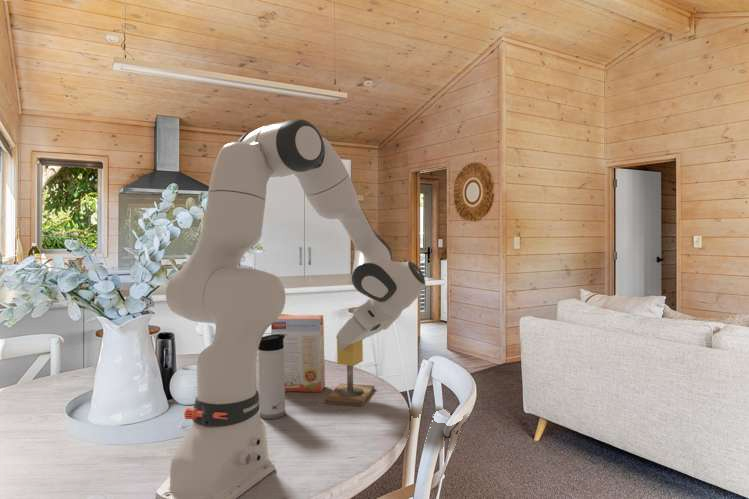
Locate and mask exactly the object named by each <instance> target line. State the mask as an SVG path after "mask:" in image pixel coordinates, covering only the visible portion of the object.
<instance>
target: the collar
mask: <svg viewBox="0 0 749 499" xmlns="http://www.w3.org/2000/svg"><path fill="white" fill-rule="evenodd" d="M339 345H340V342H339V341H338V340H337V339H336V353H337V355H336V356H337V362H336V364H337V365H343V366H345V365H346V366H347V365H350V366H353V367H355V366H356V365H359V364H360V363H362V362H363V361H364V356H363V355H364V354H363V353H364V352H363V351H364V350H363V340H360V341H357V342H355V343H353V344H351V345H349V347H348V348H347V349H346V350H344V351H341V349H340V348H339Z"/></svg>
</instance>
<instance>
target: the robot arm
mask: <svg viewBox="0 0 749 499" xmlns="http://www.w3.org/2000/svg"><path fill="white" fill-rule="evenodd" d="M291 175H294V176H295V177H296V178H297V180H298V182H299V184H300V187H301V188H302V190H303V192H304V194H305V196H306V198H307V200H308V201H309V204H310V205H311V207H313V209H314V210H315V212H316V213H317V214H318V215H319V216H320V217H322V218H324V219H327V220H336V219H337V220H339V222H340V223H341V224H342V226H343V228H344V229H345V231H346V232H347V235H348V236H349V238H350V239H351V241H352V243H353V248H354V260H353V267H352V272H351V282H352V285H353V287H354V289H356V291H358V292H359V293H360V294H362V295H364V296H366V297H368V299H367V300H366V301H365V302H364V303H362V304H360V306H358V307H357V308H355V309H354V310H353V311H352V313H351V314H352V315H351V317H350V318H348V320H347V321H346V322H345V323H344V324H343V326H342V327H341V328H340V330H339V331H338V332H337V334H336V337H335V338H336V341H337V340H338V341H339V342H340V345H339V348H340V349H341V351H344V350H346V349H347V348H348V347H349V345H351V344H353V343H355V342H357V341H360V340H362V341H363V340H365V339H366V338H369V337H372V336H373V335H376V334H378V333H380V332H381V331H382V330H383V331H384V330H388V329H389V328H390V327H391V326H392V324H394V323H395V321H396V320H397V319H398V318H400V316H401V314H402V312H403V311H404V310H405V309H407V308H409V307H410V306H411V305H412V304H413V303H414V302H415V301H416V300H417V298H418V297H419V296H420V295H421V293H422V292H423V290H424V289H425V286H426V278H425V275H424V274H423V271H422V270H421V268H419V266H418V265H417V264H415V263H414V262H412V261H410V260H409V261H396V260H395V261H393V253H392V248H391V247H390V245H389V244H388V243H387V241H385V240H384V239H383V238H382V237H380V236H379V235H378V234H377V233H376V231H375V230H374V228H373V226H372V225H371V223H370V221H369V218H368V217H367V214H365V211H364V209H363V207H362V205H361V204H360V201H359V197H358V195H357V192H356V191H357V190H356V189H355V187H354V184H353V181H352V178H351V176H350V174H349V172H348V170H347V168H346V166H345V164H344V162H343V161H342V159H341V157H340V156H339V154H338V152H336V150H335V148H334V147H333V145H332V144H331V143H330V142H329V140H328V139H326V138H325V137H323V136H322V134H321V133H320V131H319V130H318V128H317V127H316V126H315V125H314V124H312V123H311V122H310V121H308V120H305V119H295V118H294V119H288V120H286V121H280V122H277V123H268V124H265V125H263V126H260V127H259V128H257V129H253V130H250V131H248V132H246V133H245V134H243V135H242V136H241V137H240V138H239V139H238V141H234V142H233V141H232V142H229V143H226V144H224V145H223V146H222V147H221V148H220V150H219V152H218V153H217V156H216V159H215V162H214V165H213V168H212V172H211V176H210V181H209V185H208V191H207V199H206V205H205V211H204V212H205V213H204V218H203V223H202V230H201V232H200V236H199V239H198V241H197V244H196V245H195V248H194V249H193V251H192V253H191V255H190V257H189V259H188V260H187V262H186V263H185V264H184V265H183V266H182V267H181V268H180V269H179V270H178V271H176V272H175V273H174V274H173V275H172V276H171V278H170V279H169V280H168V282H167V285H166V290H165V299H166V304H167V306H168V308H169V309H170V311H171V312H172V313H173V314H175V315H177V316H179V317H182V318H185V319H187V320H189V321H191V322H197V323H205V324H207V323H208V324H214V325H215V332H214V337H213V340H212V343H211V344H210V345H209V346H206V347H205V348H204V349H203V350H202V351H201V352H200V353H199V355H198V356H197V358H196V387H197V389H196V390H197V396H196V397H195V401H194V404H193V408H192V407H186V408H185V410H184V412H183V416H184V417H183V418H184V419H185V420H192V422H191V424H190V427H189V428H188V429H187V431H186V433H185V434H184V437H183V438H182V440H181V442H180V444H179V445H178V447H177V449H176V450H175V452H174V454H173V456H172V458H171V462H170V470H169V474H170V475H169V476H168V477H167V478H166V479H165V481H164V482H163V483H162V484H161V485H160V486H159V488H157V490H156V491H155V498H156V499H238V498H239V497H240V496H242V495H243V494H244V493H245V492H247V491H248V490H250V489H251V488H252V487H254V486H255V485H256V484H257V483H259V482H260V481H261V480H263V479H264V478H266V477H267V476H268V475H269V474H271V473H272V472H274V471H275V469H276V466H275V462H274V461H273V460H272V459H270V458H269V448H268V438H267V430H266V429H267V428H266V425H265V424H264V422H263V420H262V419H261V417H260V415H259V410H260V409H259V403H260V399H259V390H257V363H258V347H259V344H260V341H261V339H262V337H264V334H265V333H266V331H267V330H268V329H269V327H270V326H271V324H272V323H274V322H275V321H276V320H277V319H278V318H279V316H280V315H282V313H283V311H284V309H285V305H286V291H285V287H284V284H283V283H282V281H281V279H280V278H279V277H278V276H276V274H273V273H270V272H267V271H265V270H264V271H263V270H260V269H256V268H249V267H248V268H247V267H239V265H240V262H241V260H242V258H243V257H244V255H245V254H246V253H247V252H248V251H249V250H250V249H252V248H254V247H255V246H256V245H257V244H258V243H259V242H260V240H261V237H262V232H263V224H264V217H265V208H266V201H267V200H266V199H267V185H268V182H269V179H270V178H278V177H279V178H282V177H287V176H291Z"/></svg>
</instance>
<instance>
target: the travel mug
mask: <svg viewBox="0 0 749 499" xmlns="http://www.w3.org/2000/svg"><path fill="white" fill-rule="evenodd" d="M283 338H285V335H284V334H275V335H271V334H269V335H263V336H262V339H261V341H260V344H259V347H258V352H257V366H258V368H257V369H258V370H257V374H258V393H259V399H260V403H259V411H258V415H259V417H260V418H262V419H266V420H275V419H278V418H282V417H283V416H284V415H285V414H286V391H285V378H284V345H283Z"/></svg>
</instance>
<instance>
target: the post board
mask: <svg viewBox="0 0 749 499" xmlns="http://www.w3.org/2000/svg"><path fill="white" fill-rule="evenodd" d="M346 378H347V380H346V382H347V383H341V382H340V383H339V384H338V385H337V386H336V387H335V388H334V389H333V390H332V391H331V392H330V393H329V395H328V396H327V397H326V398H325V399H324V404H325V405H326V404H328V405H337V406H338V405H340V406H342V405H343V406H354V407H355V406H356V407H358V406H359V407H362V406H363V405H364V403H365V402H366V401H367V399H368V398H369V397H370V395H372V393H373V391H374V390H375V384H374V385H371V384H357V383H356V384H355V383H354V366H350V365H346Z"/></svg>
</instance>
